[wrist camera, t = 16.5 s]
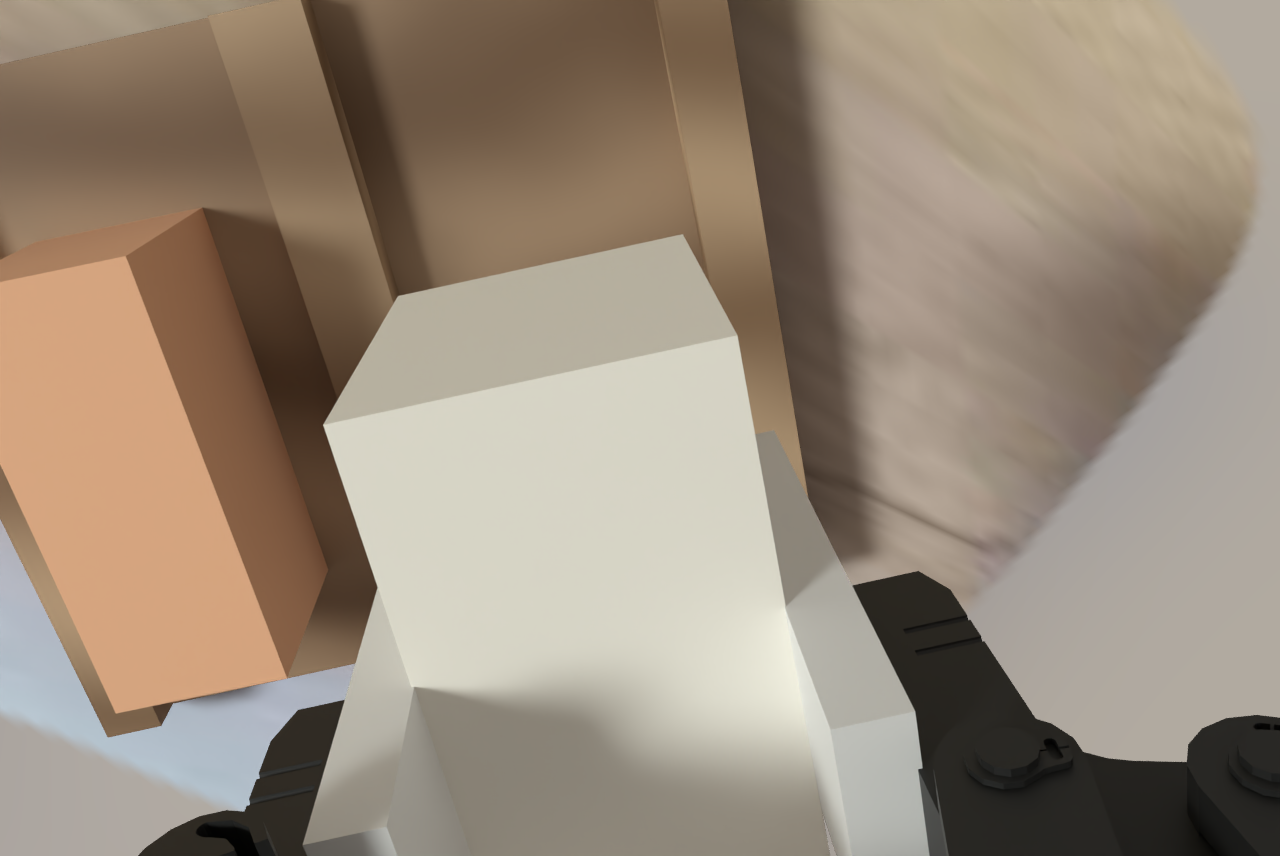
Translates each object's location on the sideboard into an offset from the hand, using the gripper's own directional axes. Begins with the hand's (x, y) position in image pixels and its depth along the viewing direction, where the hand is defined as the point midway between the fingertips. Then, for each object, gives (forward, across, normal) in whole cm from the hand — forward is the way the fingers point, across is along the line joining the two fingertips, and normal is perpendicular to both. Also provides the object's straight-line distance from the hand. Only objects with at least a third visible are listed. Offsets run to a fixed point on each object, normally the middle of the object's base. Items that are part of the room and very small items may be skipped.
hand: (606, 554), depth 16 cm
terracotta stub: (+12, -10, 0) cm, 16 cm away
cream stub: (+1, 0, -1) cm, 1 cm away
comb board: (+13, -5, 0) cm, 14 cm away
